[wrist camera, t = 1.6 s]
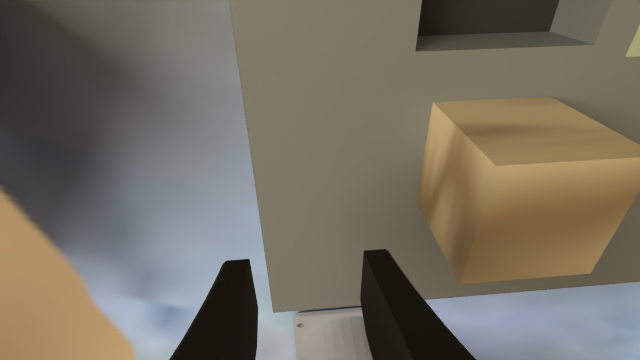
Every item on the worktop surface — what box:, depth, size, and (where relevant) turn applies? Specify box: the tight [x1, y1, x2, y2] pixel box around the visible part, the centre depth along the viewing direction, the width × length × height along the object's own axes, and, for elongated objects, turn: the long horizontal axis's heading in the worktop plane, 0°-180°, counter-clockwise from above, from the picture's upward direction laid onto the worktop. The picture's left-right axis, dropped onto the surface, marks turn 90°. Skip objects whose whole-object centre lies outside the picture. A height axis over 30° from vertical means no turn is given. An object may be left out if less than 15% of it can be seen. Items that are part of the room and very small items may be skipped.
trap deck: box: [229, 0, 640, 313], centre depth 16 cm, size 23×32×3 cm
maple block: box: [416, 97, 640, 284], centre depth 14 cm, size 5×5×5 cm
